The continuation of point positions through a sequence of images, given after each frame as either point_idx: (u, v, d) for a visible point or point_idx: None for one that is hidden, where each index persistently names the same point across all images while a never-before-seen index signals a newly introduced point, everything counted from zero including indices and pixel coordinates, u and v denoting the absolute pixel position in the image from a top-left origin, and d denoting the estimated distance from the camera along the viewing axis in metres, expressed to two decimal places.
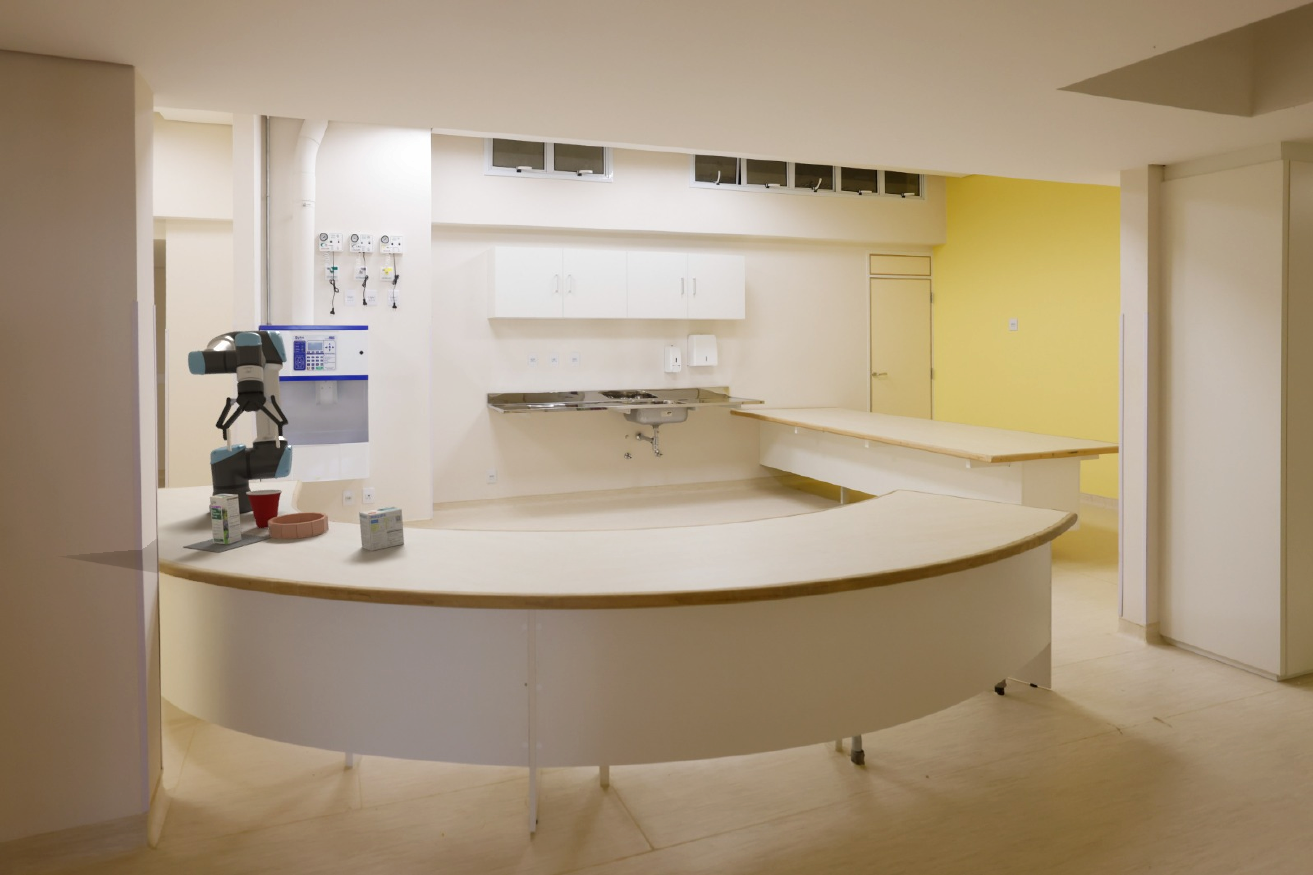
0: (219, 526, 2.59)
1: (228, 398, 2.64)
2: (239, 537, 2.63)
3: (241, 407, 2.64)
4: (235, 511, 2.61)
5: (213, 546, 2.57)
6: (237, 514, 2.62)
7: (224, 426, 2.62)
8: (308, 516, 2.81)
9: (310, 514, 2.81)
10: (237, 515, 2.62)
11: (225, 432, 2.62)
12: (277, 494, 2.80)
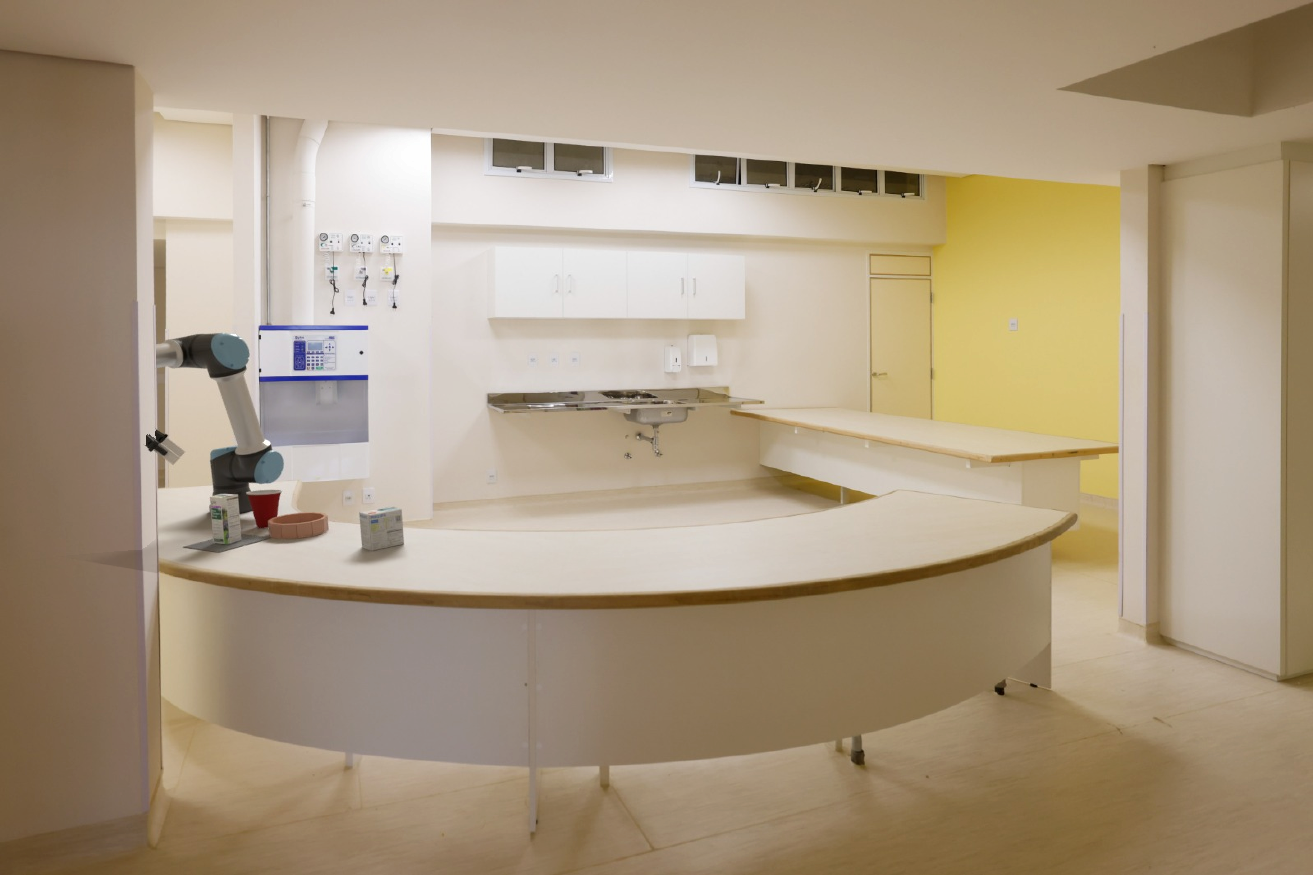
0: (219, 526, 2.59)
1: None
2: (239, 537, 2.63)
3: None
4: (235, 511, 2.61)
5: (213, 546, 2.57)
6: (237, 514, 2.62)
7: None
8: (308, 516, 2.81)
9: (310, 514, 2.81)
10: (237, 515, 2.62)
11: None
12: (277, 494, 2.80)
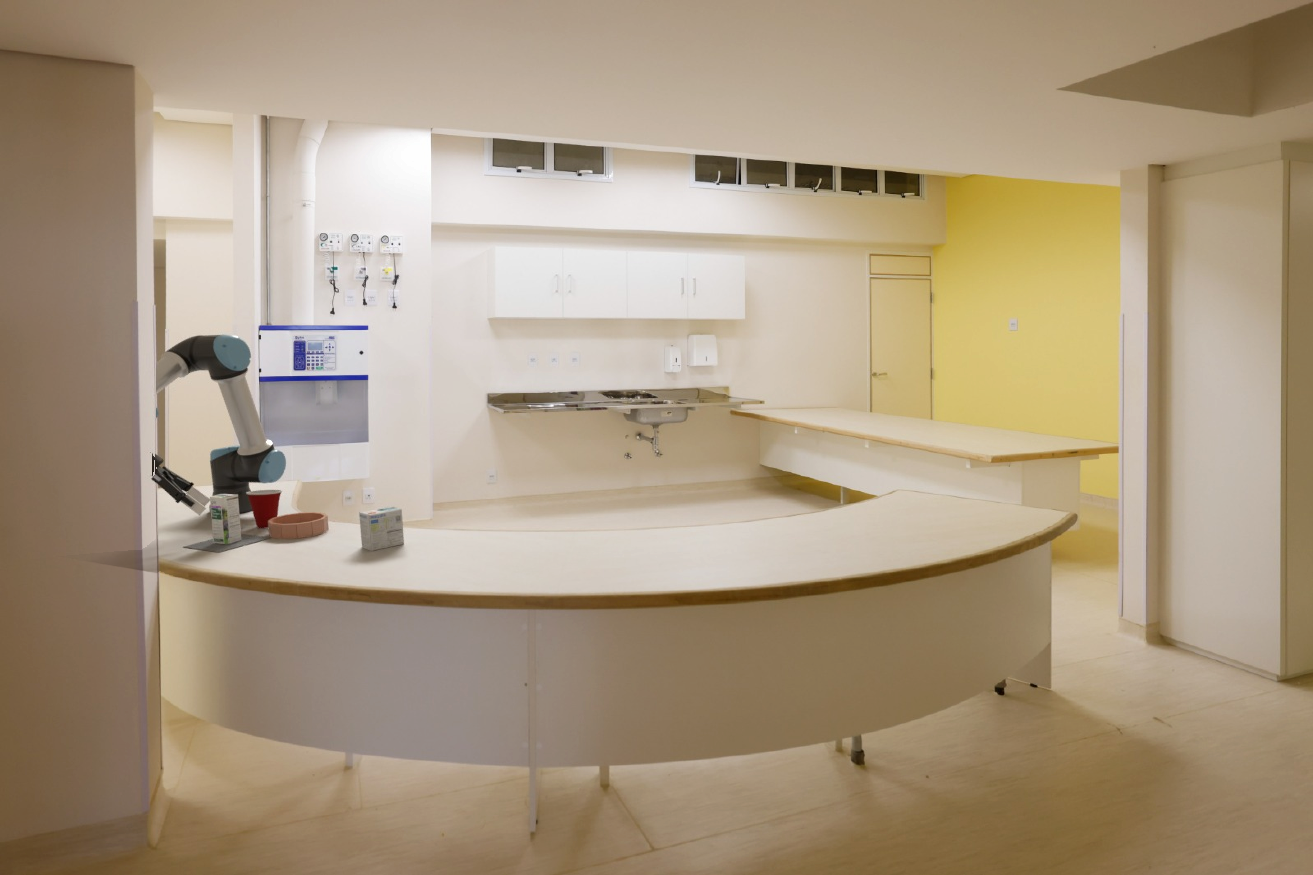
0: (219, 526, 2.59)
1: None
2: (239, 537, 2.63)
3: None
4: (235, 511, 2.61)
5: (213, 546, 2.57)
6: (237, 514, 2.62)
7: None
8: (308, 516, 2.81)
9: (310, 514, 2.81)
10: (237, 515, 2.62)
11: None
12: (277, 494, 2.80)
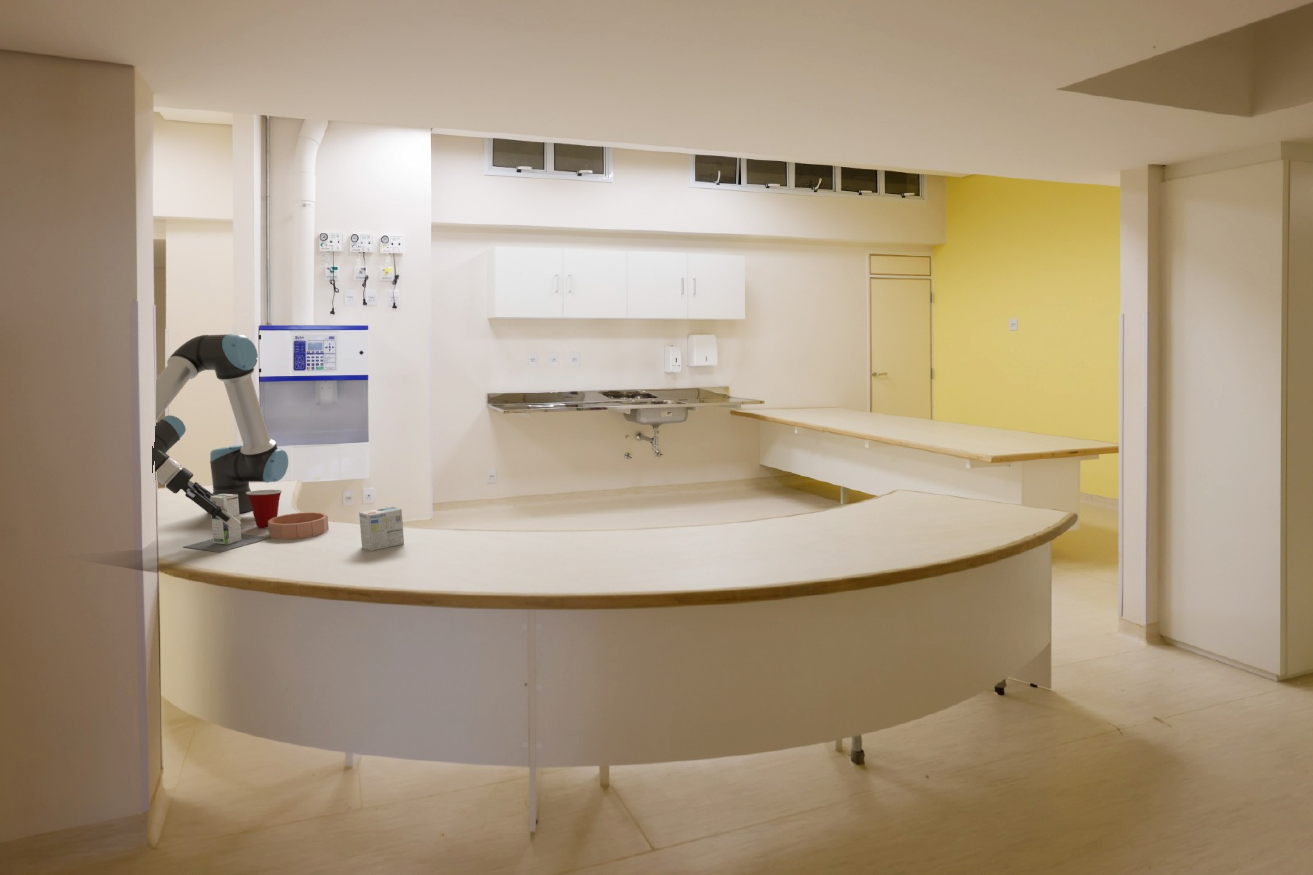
0: (219, 526, 2.59)
1: None
2: (239, 537, 2.63)
3: None
4: (235, 511, 2.61)
5: (213, 546, 2.57)
6: (237, 514, 2.62)
7: None
8: (308, 516, 2.81)
9: (310, 514, 2.81)
10: (237, 515, 2.62)
11: None
12: (277, 494, 2.80)
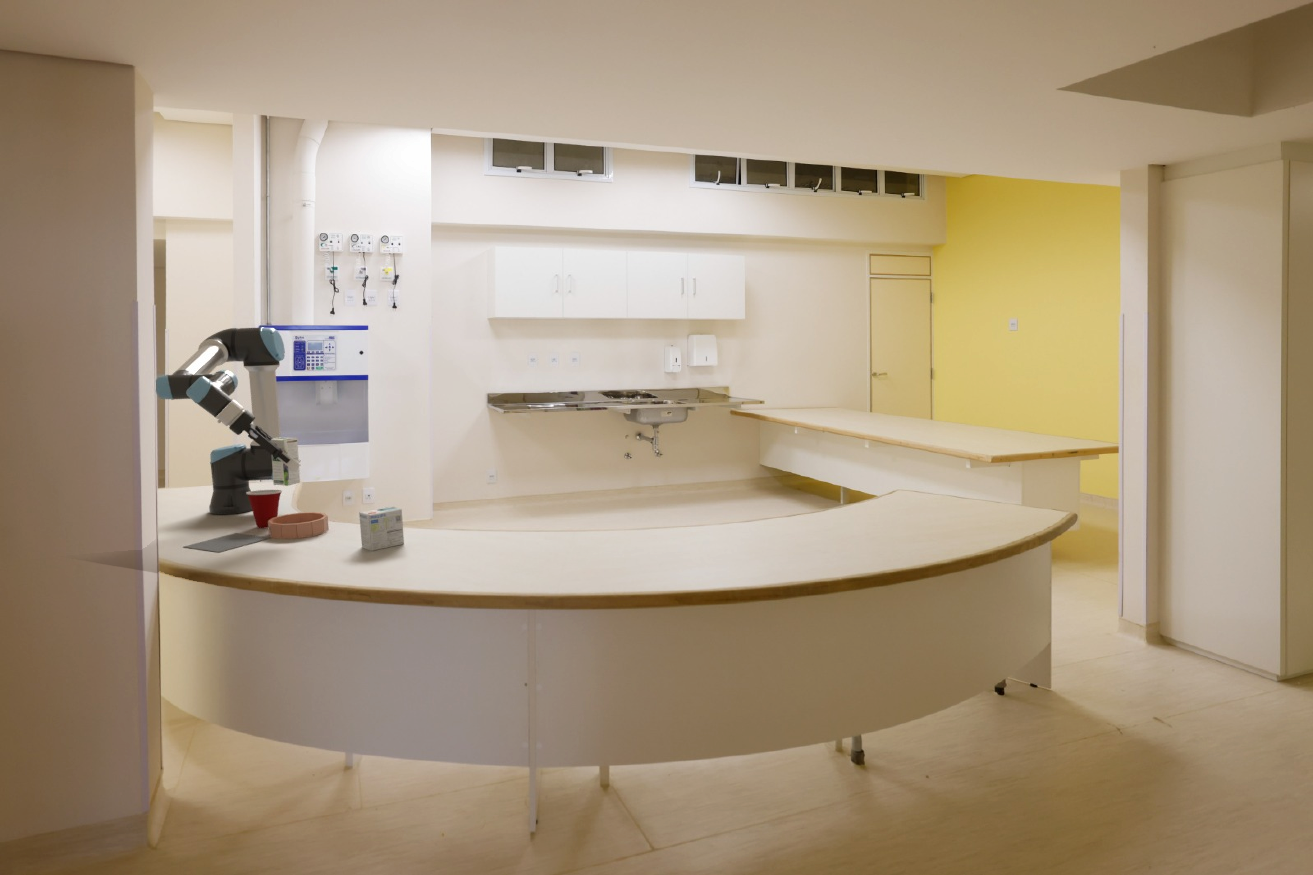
0: (279, 468, 2.66)
1: None
2: (298, 480, 2.70)
3: None
4: (295, 454, 2.69)
5: (213, 546, 2.57)
6: (296, 457, 2.69)
7: None
8: (308, 516, 2.81)
9: (310, 514, 2.81)
10: (296, 458, 2.69)
11: None
12: (277, 494, 2.80)
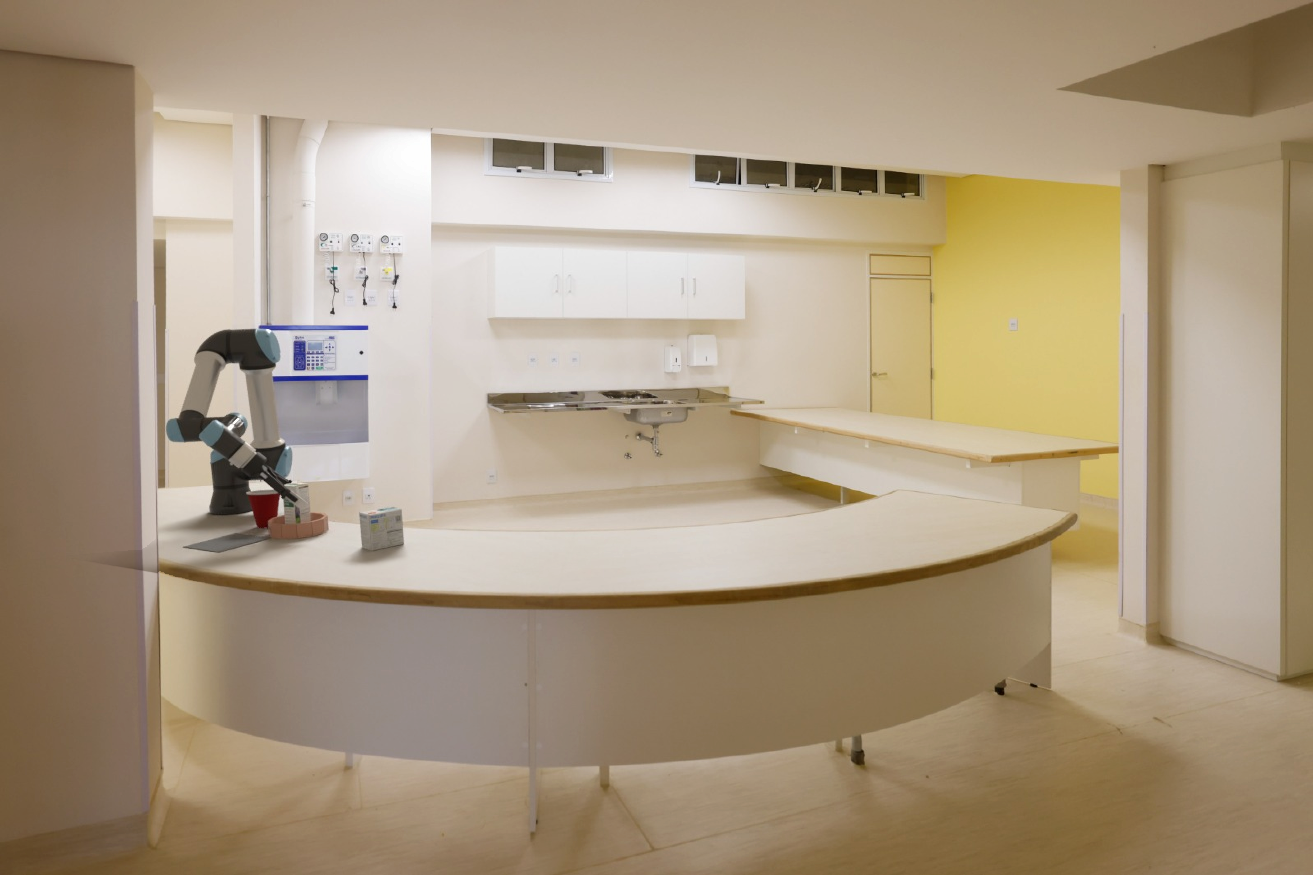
0: (291, 513, 2.70)
1: None
2: None
3: None
4: (306, 499, 2.73)
5: (213, 546, 2.57)
6: (307, 502, 2.74)
7: None
8: None
9: (310, 514, 2.81)
10: None
11: None
12: (277, 494, 2.80)
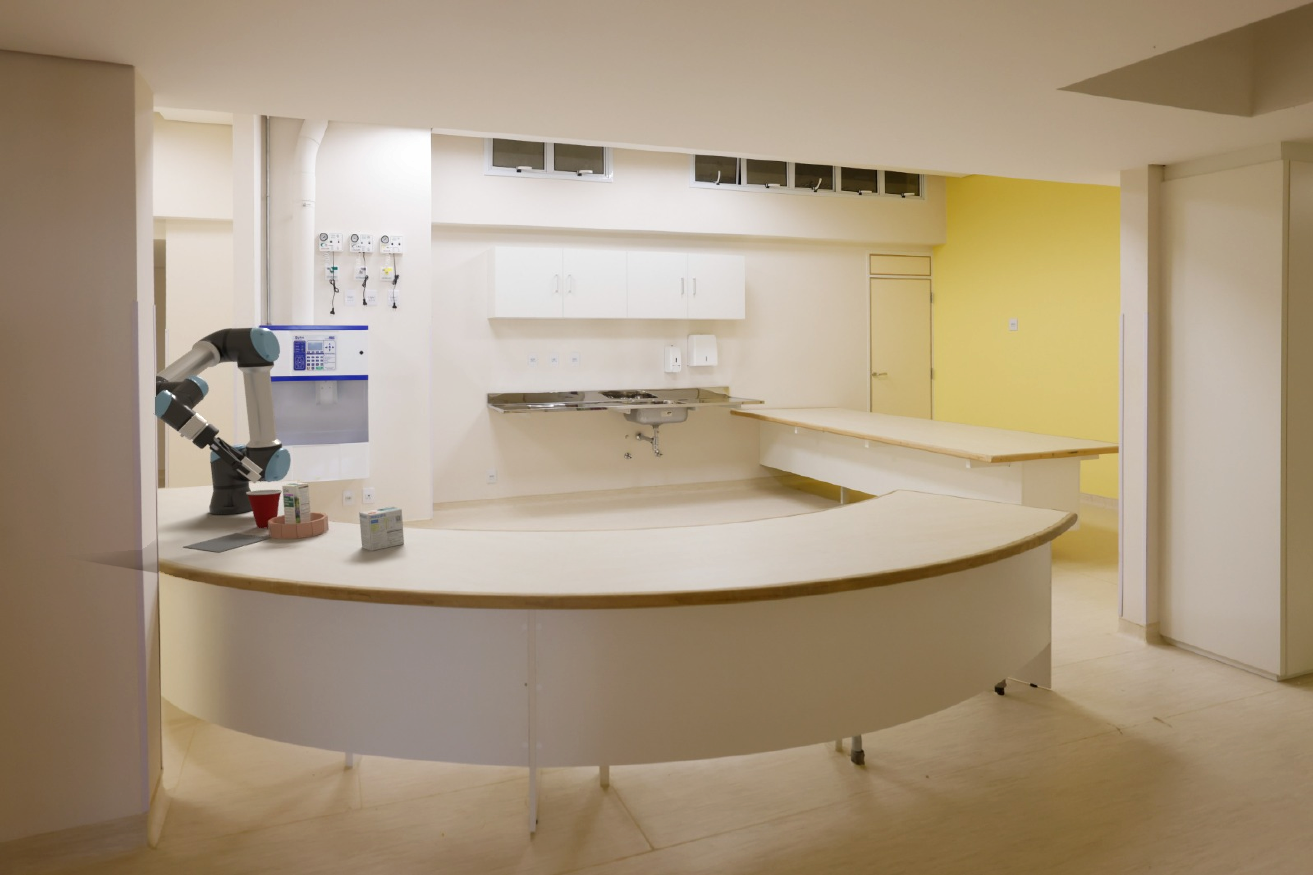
0: (291, 513, 2.70)
1: None
2: None
3: None
4: (306, 499, 2.73)
5: (213, 546, 2.57)
6: (307, 502, 2.74)
7: None
8: None
9: (310, 514, 2.81)
10: (307, 503, 2.74)
11: None
12: (277, 494, 2.80)
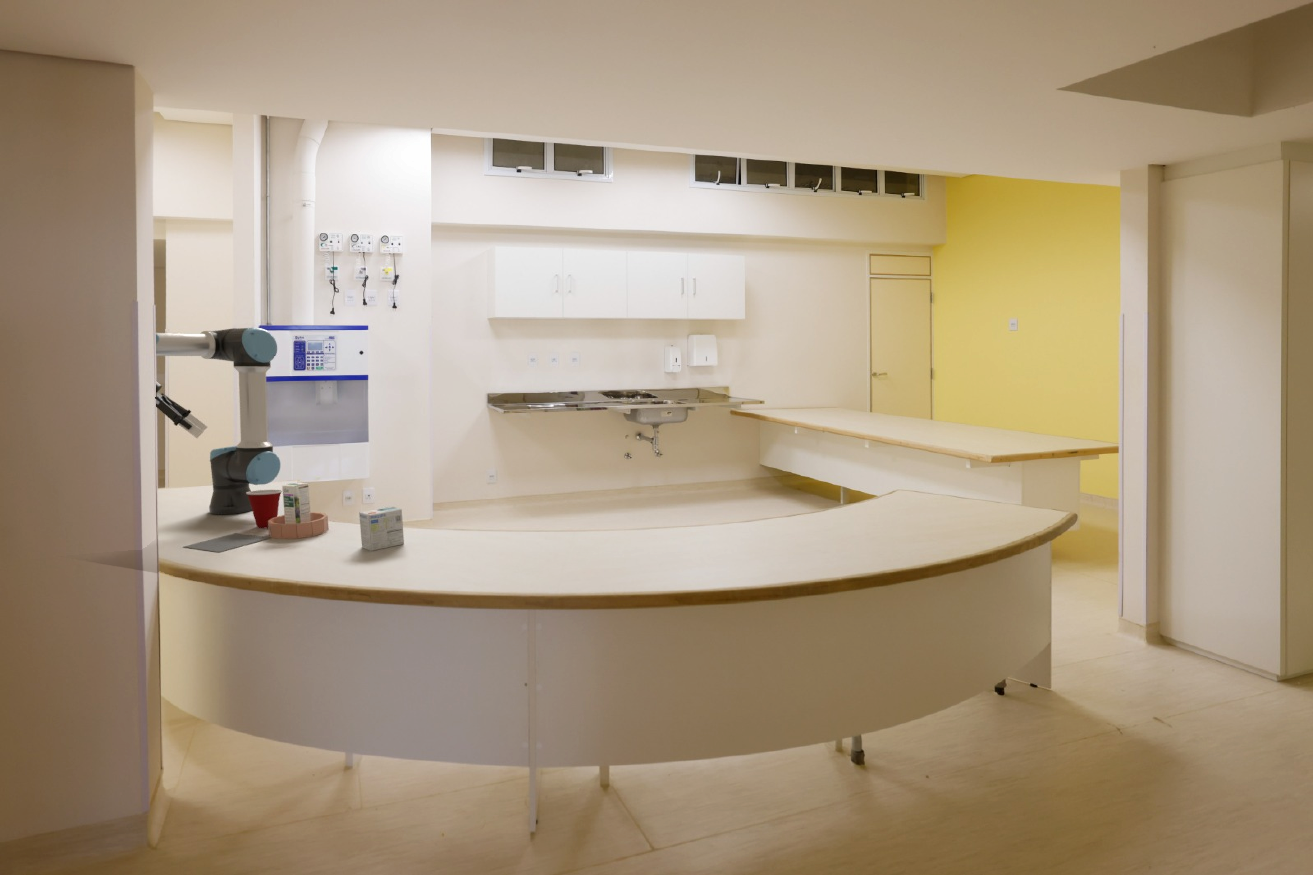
0: (291, 513, 2.70)
1: None
2: None
3: None
4: (306, 499, 2.73)
5: (213, 546, 2.57)
6: (307, 502, 2.74)
7: None
8: None
9: (310, 514, 2.81)
10: (307, 503, 2.74)
11: None
12: (277, 494, 2.80)
